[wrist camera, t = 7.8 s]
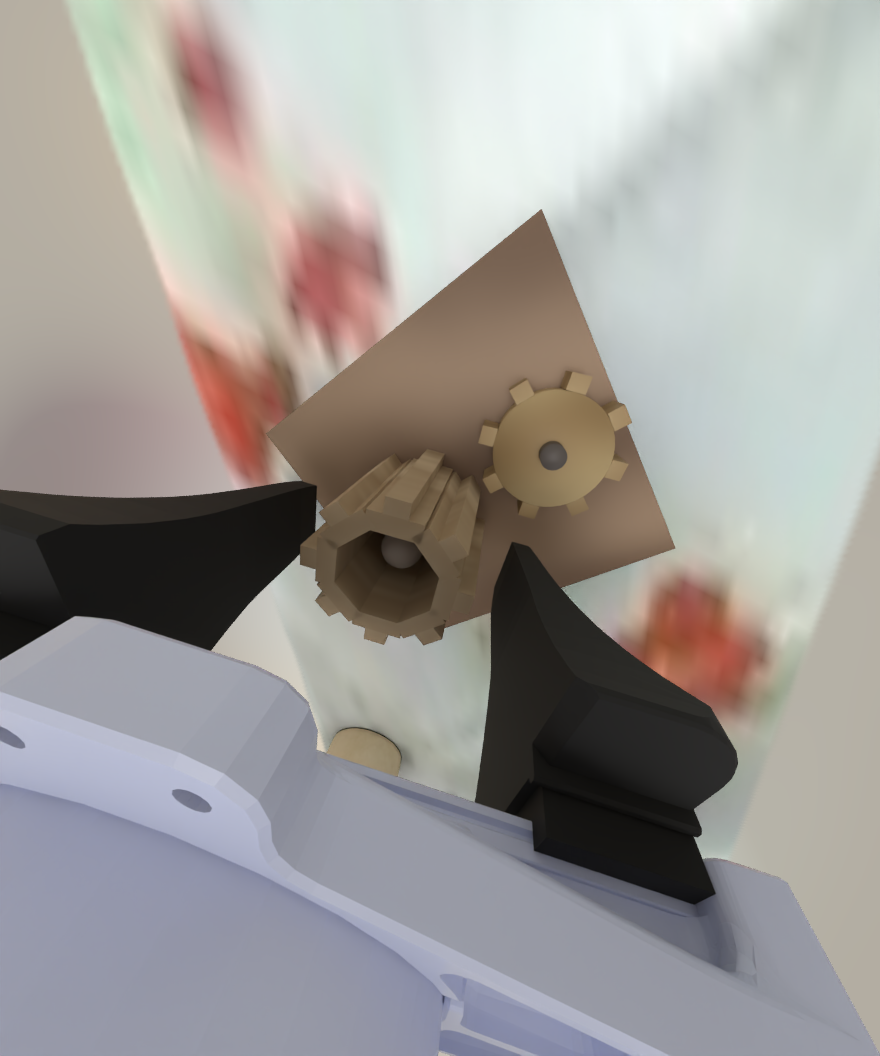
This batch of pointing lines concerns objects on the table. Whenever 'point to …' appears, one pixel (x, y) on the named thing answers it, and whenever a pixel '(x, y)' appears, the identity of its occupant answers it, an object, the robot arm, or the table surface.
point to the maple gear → (409, 514)
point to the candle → (366, 750)
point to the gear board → (494, 420)
